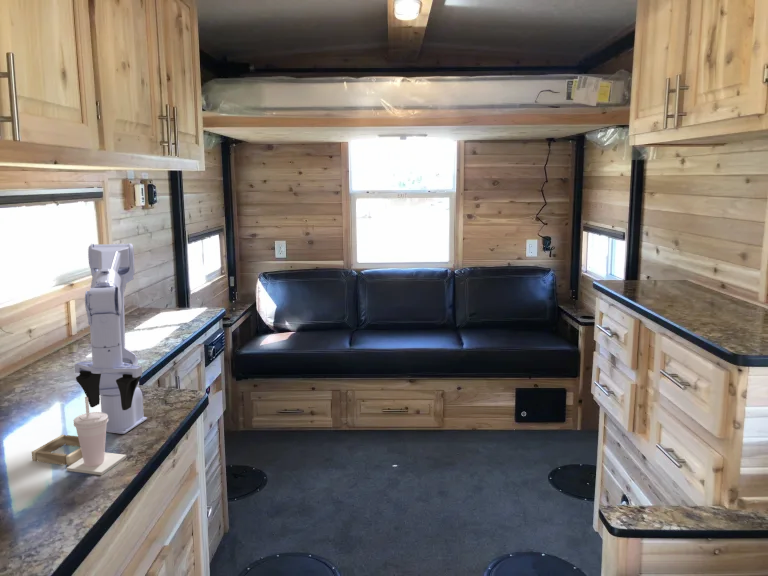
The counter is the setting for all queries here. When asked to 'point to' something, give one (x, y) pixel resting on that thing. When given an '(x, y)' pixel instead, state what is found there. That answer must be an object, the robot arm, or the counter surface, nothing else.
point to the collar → (47, 456)
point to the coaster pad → (108, 463)
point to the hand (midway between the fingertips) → (110, 407)
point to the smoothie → (92, 435)
